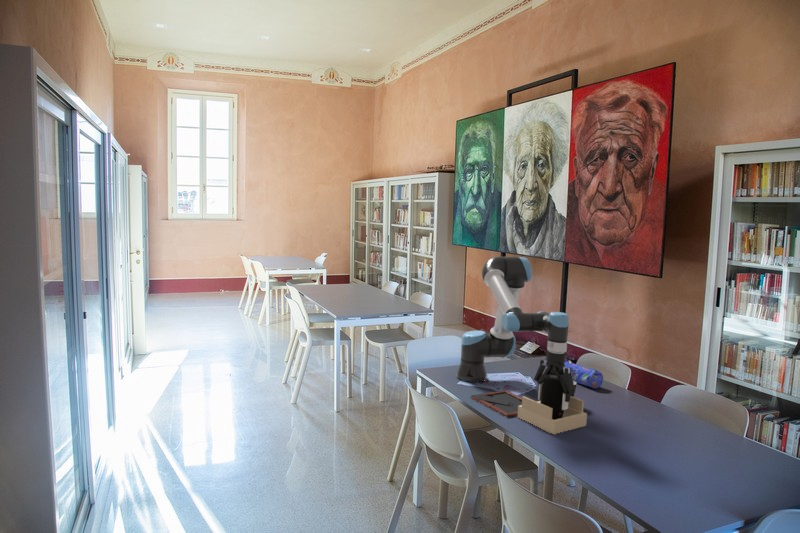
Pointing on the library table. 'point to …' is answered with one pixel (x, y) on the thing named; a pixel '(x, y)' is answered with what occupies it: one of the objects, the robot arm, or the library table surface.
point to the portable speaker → (552, 394)
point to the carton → (543, 415)
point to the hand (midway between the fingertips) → (552, 404)
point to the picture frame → (500, 402)
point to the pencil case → (585, 375)
